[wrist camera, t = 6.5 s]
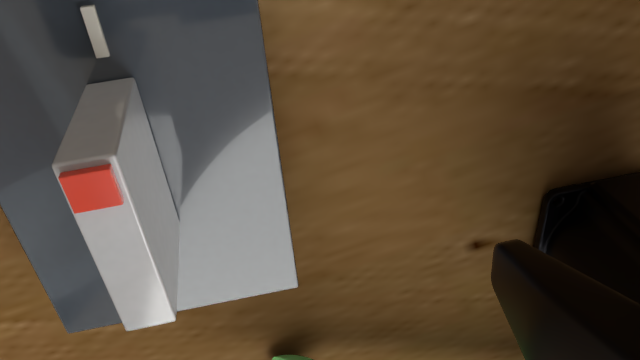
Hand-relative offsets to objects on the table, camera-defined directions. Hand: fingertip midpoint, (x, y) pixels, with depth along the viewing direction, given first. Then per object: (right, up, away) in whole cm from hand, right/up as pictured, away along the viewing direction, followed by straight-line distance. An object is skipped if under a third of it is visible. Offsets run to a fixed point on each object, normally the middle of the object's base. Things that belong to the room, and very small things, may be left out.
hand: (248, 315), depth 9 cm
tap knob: (-5, +3, +8) cm, 9 cm away
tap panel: (-5, +5, +10) cm, 12 cm away
